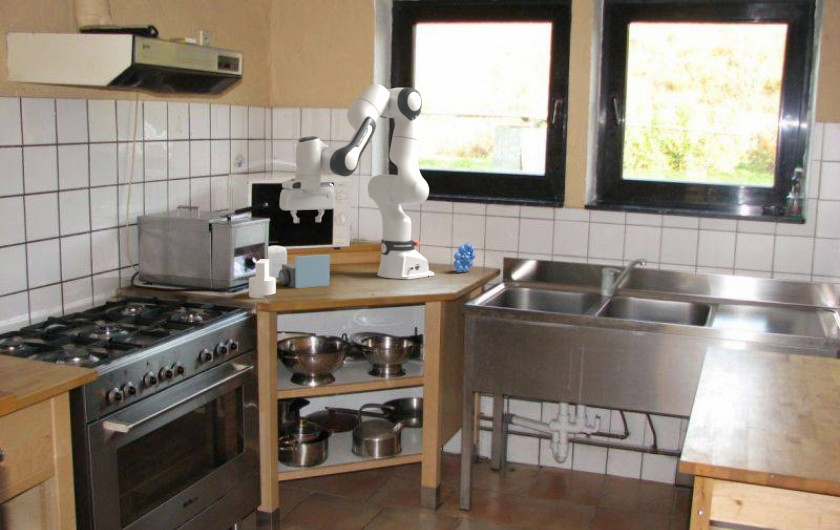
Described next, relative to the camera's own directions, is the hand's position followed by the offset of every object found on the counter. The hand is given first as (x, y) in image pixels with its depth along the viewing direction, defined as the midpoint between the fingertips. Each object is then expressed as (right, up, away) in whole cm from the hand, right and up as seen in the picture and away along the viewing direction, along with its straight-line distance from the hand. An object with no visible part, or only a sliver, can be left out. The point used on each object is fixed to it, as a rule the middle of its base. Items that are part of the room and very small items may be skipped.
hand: (307, 222), depth 327 cm
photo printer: (-15, -20, +20) cm, 32 cm away
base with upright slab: (-14, -26, -12) cm, 32 cm away
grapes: (+57, -18, +45) cm, 75 cm away
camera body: (-2, -23, +4) cm, 24 cm away
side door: (+2, -23, 0) cm, 23 cm away
